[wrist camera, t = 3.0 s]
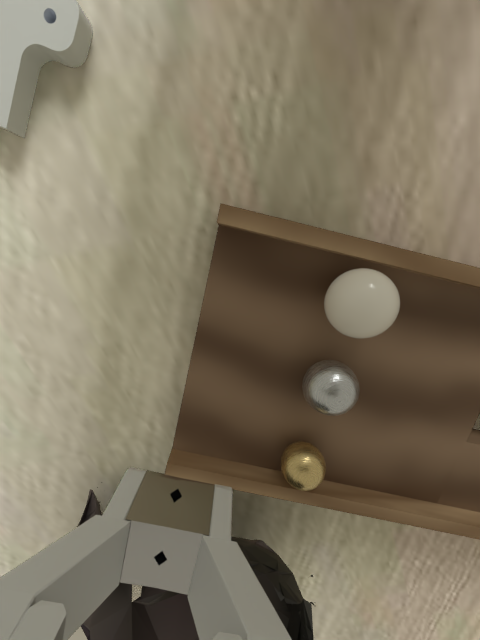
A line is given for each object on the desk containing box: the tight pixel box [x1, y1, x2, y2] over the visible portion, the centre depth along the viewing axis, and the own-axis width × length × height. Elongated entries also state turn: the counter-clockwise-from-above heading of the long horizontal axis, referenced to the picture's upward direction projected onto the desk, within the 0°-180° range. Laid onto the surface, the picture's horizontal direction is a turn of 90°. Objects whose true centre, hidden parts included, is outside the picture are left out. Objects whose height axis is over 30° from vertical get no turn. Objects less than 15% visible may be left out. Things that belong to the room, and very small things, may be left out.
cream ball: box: [324, 268, 400, 339], centre depth 17 cm, size 4×4×4 cm
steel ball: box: [302, 360, 360, 416], centre depth 18 cm, size 3×3×3 cm
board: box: [165, 204, 480, 539], centre depth 21 cm, size 18×30×4 cm, turn 77°
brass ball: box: [281, 441, 326, 491], centre depth 20 cm, size 3×3×3 cm
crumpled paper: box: [77, 482, 315, 640], centre depth 19 cm, size 14×15×20 cm
